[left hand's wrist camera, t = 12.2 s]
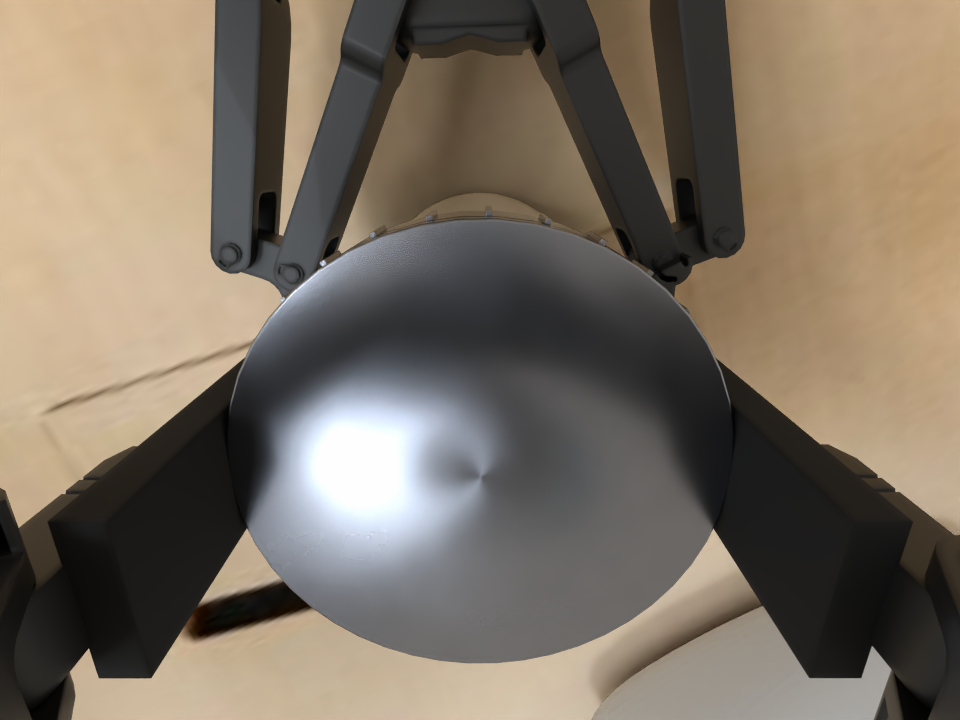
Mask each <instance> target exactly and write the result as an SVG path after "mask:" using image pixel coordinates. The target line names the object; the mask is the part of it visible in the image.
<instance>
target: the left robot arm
mask: <svg viewBox="0 0 960 720" xmlns="http://www.w3.org/2000/svg"><path fill="white" fill-rule="evenodd" d="M244 360H245V358H244V359H243V360H242V361H240V362H239V363H238V364H237V365H236V366H234V367H233V368H232V369H231V370H230V371H228V372H227V373H226V374H225V375H223V376H222V377H221V378H220V379H219V380H217V381H216V382H215V383H214V384H213V385H211V386H210V387H209V388H208V389H207V390H205V391H204V392H203V393H202V394H201V395H199V396H198V397H197V398H196V399H195V400H193V401H192V402H191V403H190V404H188V405H187V406H186V407H185V408H184V409H182V410H181V411H180V412H179V413H178V414H176V415H175V416H174V417H173V418H172V419H170V420H169V421H168V422H167V423H166V424H164V425H163V426H162V427H161V428H160V429H158V430H157V431H156V432H155V433H153V434H152V435H151V436H150V437H149V438H147V439H146V440H145V441H144V442H143V443H141V444H140V445H139V446H133V447H131V448H128V449H126V450H124V451H122V452H120V453H118V454H116V455H114V456H112V457H110V458H108V459H106V460H104V461H103V462H102V463H100V464H99V465H98V466H97V467H95V468H94V469H93V470H92V471H90V472H89V473H88V474H86V475H85V476H84V479H83V480H79V481H78V482H76V483H75V484H74V485H73V486H71V487H70V488H69V489H68V490H66V494H61V495H60V496H59V497H57V498H56V499H55V500H54V501H52V502H51V503H50V504H49V505H47V506H46V507H45V508H44V509H42V510H41V511H40V512H39V513H37V514H36V515H35V516H33V517H32V518H31V519H30V520H28V521H27V522H26V523H25V524H23V525H22V526H21V527H20V528H18V525H17V523H16V520H15V517H14V514H13V511H12V508H11V506H10V503H9V500H8V497H7V494H6V492H5V490H3V489H1V488H0V720H71V718H72V712H73V707H74V701H75V690H74V683H73V681H72V678H71V675H70V671H71V670H72V668H73V667H74V666H75V665H76V663H77V662H78V661H79V660H80V658H81V657H82V656H83V655H84V653H85V652H86V651H87V650H88V648H89V649H90V652H91V655H92V658H93V662H94V665H95V668H96V671H97V674H98V677H99V678H152V676H153V675H154V673H155V671H156V670H157V668H158V667H159V665H160V664H161V662H162V660H163V659H164V657H165V656H166V654H167V653H168V651H169V649H170V648H171V646H172V645H173V643H174V642H175V640H176V638H177V637H178V635H179V634H180V632H181V631H182V629H183V627H184V626H185V624H186V623H187V621H188V620H189V618H190V617H191V615H192V613H193V612H194V610H195V609H196V607H197V606H198V604H199V602H200V601H201V599H202V598H203V596H204V595H205V593H206V591H207V590H208V588H209V587H210V585H211V584H212V582H213V580H214V579H215V577H216V576H217V574H218V573H219V571H220V570H221V568H222V566H223V565H224V563H225V562H226V560H227V559H228V557H229V555H230V554H231V552H232V551H233V549H234V548H235V546H236V544H237V543H238V541H239V540H240V538H241V537H242V535H243V533H244V532H245V530H246V529H247V527H246V525H245V523H244V521H243V519H242V516H241V513H240V510H239V507H238V504H237V501H236V499H235V495H234V490H233V485H232V479H231V474H230V469H229V463H228V455H227V426H228V417H229V408H230V402H231V398H232V395H233V391H234V387H235V384H236V380H237V376H238V373H239V371H240V369H241V366H242V364H243V362H244ZM716 360H717V362H718V365H719V367H720V369H721V371H722V375H723V378H724V382H725V385H726V388H727V392H728V395H729V399H730V405H731V412H732V420H733V428H734V446H733V460H732V465H731V471H730V476H729V482H728V487H727V492H726V497H725V500H724V503H723V506H722V509H721V512H720V515H719V518H718V520H717V522H716V524H715V526H714V530H715V531H716V533H717V535H718V536H719V538H720V539H721V541H722V542H723V544H724V545H725V547H726V549H727V550H728V552H729V553H730V555H731V556H732V558H733V560H734V561H735V563H736V564H737V566H738V567H739V569H740V571H741V572H742V574H743V575H744V577H745V578H746V580H747V582H748V583H749V585H750V586H751V588H752V589H753V591H754V593H755V594H756V596H757V597H758V599H759V600H760V602H761V603H762V605H763V607H764V608H765V610H766V611H767V613H768V614H769V616H770V618H771V619H772V621H773V622H774V624H775V625H776V627H777V629H778V630H779V632H780V633H781V635H782V636H783V638H784V640H785V641H786V643H787V644H788V646H789V647H790V649H791V650H792V652H793V654H794V655H795V657H796V658H797V660H798V661H799V663H800V665H801V666H802V668H803V669H804V671H805V672H806V674H807V676H808V677H809V678H862V675H863V672H864V669H865V666H866V663H867V660H868V657H869V654H870V651H871V648H872V646H873V647H874V649H875V650H876V651H877V652H878V654H879V655H880V656H881V657H882V659H883V660H884V661H885V662H886V663H887V665H888V666H889V667H890V668H891V672H890V675H889V678H888V681H887V683H886V686H885V689H884V692H883V695H882V697H881V700H880V703H879V706H878V709H877V712H876V714H875V717H874V720H960V535H956V536H955V535H953V534H952V533H951V532H950V531H948V530H947V529H946V528H945V527H943V526H942V525H941V524H939V523H938V522H937V521H936V520H934V519H933V518H932V517H931V516H929V515H928V514H927V513H925V512H924V511H923V510H922V509H920V508H919V507H918V506H917V505H915V504H914V503H913V502H911V501H910V500H909V499H908V498H906V497H905V496H904V495H903V494H901V493H900V492H895V488H894V487H892V486H891V485H890V484H889V483H887V482H886V481H885V480H883V479H882V478H878V477H877V474H876V473H875V472H873V471H872V470H871V469H869V468H868V467H867V466H866V465H864V464H863V463H862V462H861V461H859V460H858V459H857V458H855V457H853V456H851V455H849V454H846V453H844V452H842V451H840V450H838V449H836V448H834V447H832V446H830V445H820V444H819V443H818V442H817V441H815V440H814V439H813V438H812V437H810V436H809V435H808V434H807V433H806V432H804V431H803V430H802V429H801V428H800V427H798V426H797V425H796V424H795V423H794V422H792V421H791V420H790V419H789V418H788V417H786V416H785V415H784V414H783V413H782V412H780V411H779V410H778V409H777V408H775V407H774V406H773V405H772V404H771V403H769V402H768V401H767V400H766V399H765V398H763V397H762V396H761V395H760V394H759V393H757V392H756V391H755V390H754V389H753V388H751V387H750V386H749V385H748V384H747V383H745V382H744V381H743V380H742V379H740V378H739V377H738V376H737V375H736V374H734V373H733V372H732V371H731V370H730V369H728V368H727V367H726V366H725V365H724V364H722V363H721V362H720V361H719V360H718V359H716Z"/></svg>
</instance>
